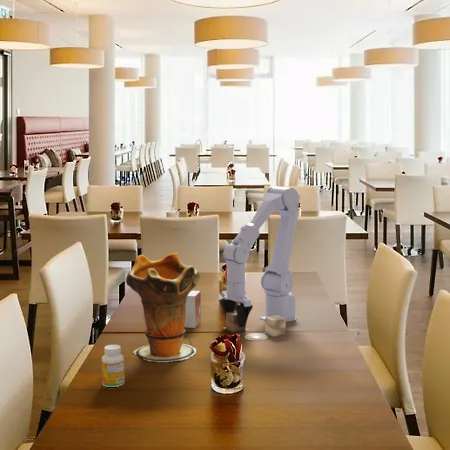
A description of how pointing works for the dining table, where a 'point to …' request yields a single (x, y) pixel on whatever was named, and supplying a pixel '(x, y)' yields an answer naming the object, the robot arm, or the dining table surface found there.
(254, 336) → the coaster
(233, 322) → the walnut block
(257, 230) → the robot arm
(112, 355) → the supplement bottle
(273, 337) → the code tile
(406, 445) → the dining table surface
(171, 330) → the decorative vase
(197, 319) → the small box
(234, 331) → the code tile
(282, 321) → the maple block
